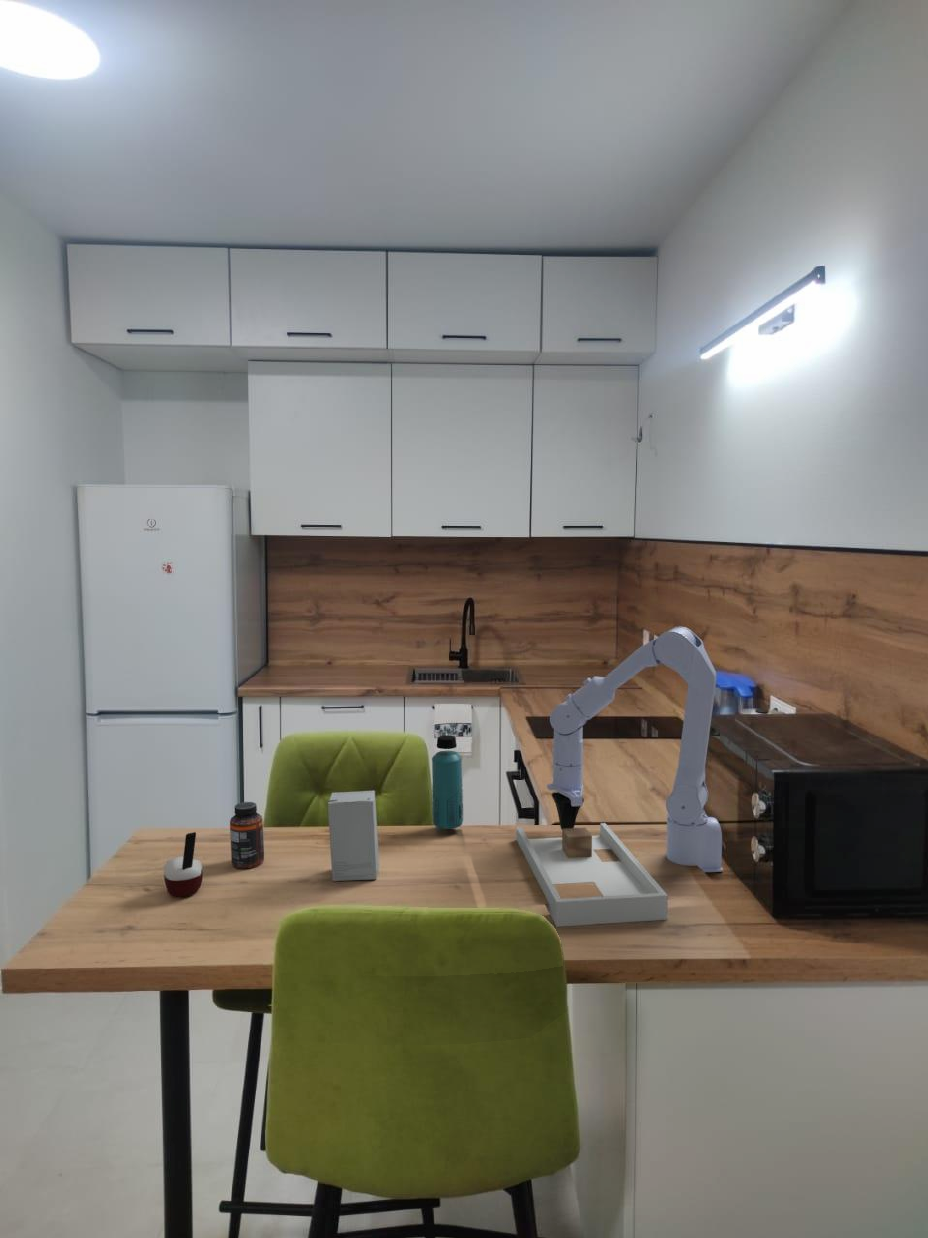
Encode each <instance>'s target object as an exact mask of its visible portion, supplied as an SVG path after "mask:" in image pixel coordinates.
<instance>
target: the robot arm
mask: <svg viewBox="0 0 928 1238" xmlns="http://www.w3.org/2000/svg"><path fill="white" fill-rule="evenodd" d="M661 664H663V665H665V666H666V667H668V668H670V669H671V670H673V671H675V672H677V674H678V675H679V676H680V677H681V678H682V679H683V680H684V682H686V683H687V693H686V699H685V700H686V701H685V707H684V708H685V709H684V716H683V723H682V724H683V725H682V732H681V740H680V748H679V754H678V755H679V757H678V763H677V765H678V766H677V770H676V774H675V778H674V783H673V788H672V791H671V792H670V793H669V794H668V796H667V798H666V801H665V808H666V812H667V814H666V850H665V851H666V852H665V853H666V855H665V856H666V859H667V860H668V861H670V862H673V863H674V864H677V865H681V866H687V867H688V866H695V867H696V866H697V867H698V868H699V869H700V870H701V871H702V872H703V873H716V872H719V873H720V872H723V871H724V868H723V867H722V858H723V856H722V855H723V833H722V828H721V824H720V823H719V821H718V819H717V818H715V817H713V816H708V815H707V813H706V812H705V809H704V806H705V805H706V804H707V802H708V799H709V790H708V788H707V784H706V773H707V772H706V762H707V756H708V755H707V754H708V747H709V741H710V739H709V738H710V732H711V726H712V725H711V724H712V715H713V709H714V700H715V694H716V693H715V692H716V686H717V685H716V684H717V679H718V677H717V672H716V670H715V667H714V664H713V663H712V661H711V659H710V657H709V655H708V653H707V650H706V648H705V646H704V642H703V640H702V639H701V638H700V637H699V636H698V635H697V634H696V633H695V632H693V631H692V630H691V629H689V628H688V627H685V626H675V627H672V628H671V629H669V630H668V631H666V632H663V633H661V634H660V635H659V636H658V637H656V638H655V639H653V640H651V641H649V642H647V643H645V644H644V645H642V646H640V647H639V648H637V649H636V650H635V651H633V653H632V654H630V655H629V656H628V657H627V658H625V660H623V661H622V662H621V663H620V664H619V665H618V666H616V667H614V669H613V670H612V671H610V672H609V673H608V674H607V675H606V676H605V677H603V676H593V677H592V678H590V677H587V678H586V679H584V681H582V683H583V685H582V686H581V687H580V688H578V689H577V690H576V691H575V692H574V693H573V694H571V693H569V694H568V695H566V697H564V698H565V700H566V701H564V702H561V703H560V704H557V705H556V706H555V708H553V710H552V711H551V712H550V716H549V723H550V725H551V728H552V729H553V741H552V742H553V744H552V745H553V750H552V752H553V755H552V756H553V757H552V759H553V760H552V783H547V784H546V788H547V790H548V791H555V792H552V793H551V797H552V799H553V801H554V803H555V807H556V810H557V815H558V821H559V825H560V830H562V829H563V828H575V824H576V820H577V817H578V813H579V812H580V810H581V809H580V808H581V807H583V804H584V801H585V799H584V797H583V792H584V784H583V770H584V769H583V768H584V767H583V759H584V758H583V757H584V755H583V754H584V740H583V735H584V734H583V731H584V730H583V729H584V728H583V726H584V725H585V724H586V723H587V721H589V720H591V719H592V718H594V716H596V715H598V713H599V712H601V711H602V710H603V709H605V708H606V707H607V706H608V705H609V704H611V703H613V701H614V700H615V695H616V690H617V689H618V688H620V687H621V686H622V685H624V684H625V683H626V682H628V681H629V680H630V679H632V678H633V677H634V676H636V675H637V674H639V673H640V672H641V671H642V670H644V669H645V668H649V667H658V666H660V665H661Z"/></svg>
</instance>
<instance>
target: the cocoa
mask: <svg viewBox="0 0 928 1238" xmlns="http://www.w3.org/2000/svg"><path fill="white" fill-rule="evenodd" d="M196 838H197V833H196V831H194V832H189V833H187V834H185V840H184V850H183V856H177V857H174V858H171V859H170V860H167V861H166V862H165V864H164V865H163V873H164V874H163V875H164V876H163V877H164V883H165V887H166V891H167V893H168V894H169V895H170V896H171V897H173V898H179V899H185V898H189V897H191V896H193V895H195V894H196V893H198V891H199V890H200V888H201V887H202V883H203V877H204V871H203V866H202V863H201V861H200V860H198V859H195V858H194V856H195V855H194V854H195V846H196V845H195V844H196Z"/></svg>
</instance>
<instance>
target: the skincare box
mask: <svg viewBox="0 0 928 1238" xmlns="http://www.w3.org/2000/svg"><path fill="white" fill-rule="evenodd" d="M327 813H328V817H327V818H328V833H329V846H330V847H329V848H330V862H331V877H332V882H342V881H344V882H345V881H367V880H370V881H371V880H372V881H373V880H377V878H378V873H379V868H380V859H379V842H378V841H379V839H378V826H377V825H378V824H377V804H376V791H375V790H363V791H348V792H347V791H346V792H345V791H344V792H332V793H331V794H330V797H329V800H328V802H327Z"/></svg>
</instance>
